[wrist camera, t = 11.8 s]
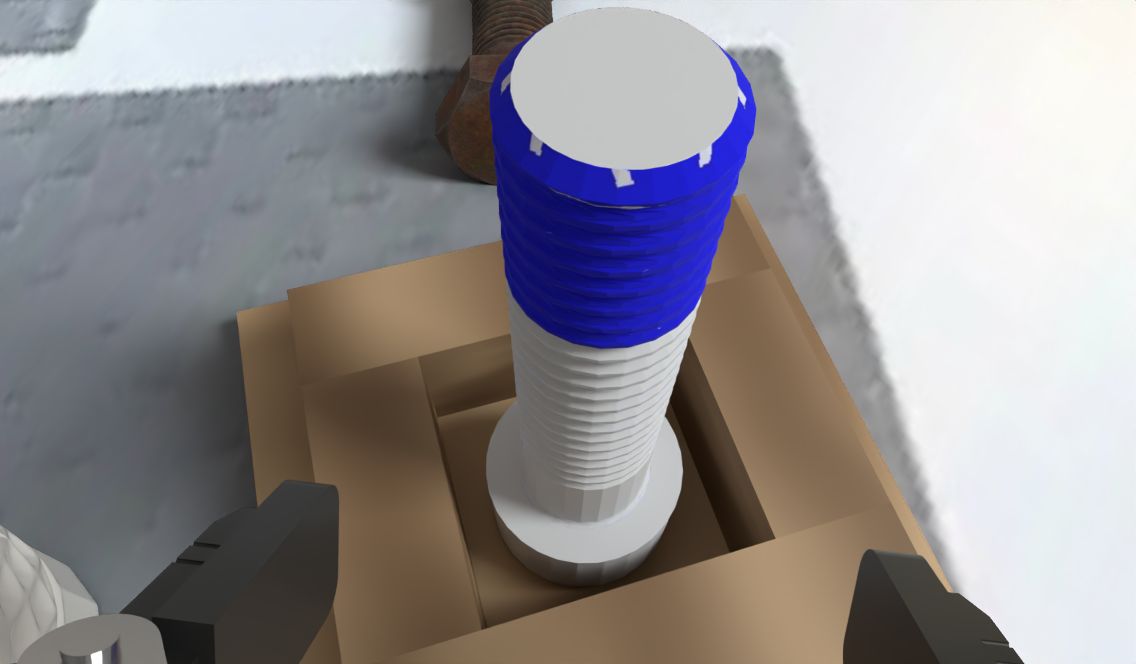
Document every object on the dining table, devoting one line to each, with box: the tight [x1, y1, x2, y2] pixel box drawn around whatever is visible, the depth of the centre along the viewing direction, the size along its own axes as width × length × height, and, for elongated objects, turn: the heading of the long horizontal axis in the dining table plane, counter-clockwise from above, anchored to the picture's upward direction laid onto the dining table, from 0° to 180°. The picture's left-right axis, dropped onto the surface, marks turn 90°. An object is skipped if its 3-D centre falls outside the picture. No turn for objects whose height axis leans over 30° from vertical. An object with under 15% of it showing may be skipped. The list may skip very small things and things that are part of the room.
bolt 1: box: [435, 0, 553, 185], centre depth 31 cm, size 6×5×15 cm
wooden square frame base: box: [237, 194, 954, 664], centre depth 21 cm, size 18×18×5 cm
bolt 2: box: [486, 7, 756, 587], centre depth 16 cm, size 16×5×5 cm
